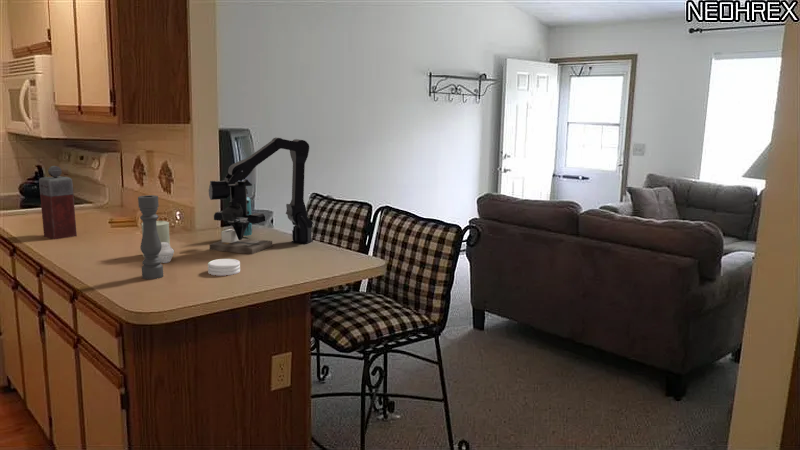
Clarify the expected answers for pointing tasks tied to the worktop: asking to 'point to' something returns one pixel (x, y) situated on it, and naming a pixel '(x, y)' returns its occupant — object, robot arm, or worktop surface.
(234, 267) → the white flat disc
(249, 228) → the beverage bottle
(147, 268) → the candle holder
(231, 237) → the fader knob
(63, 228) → the red lidded canister
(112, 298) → the worktop surface
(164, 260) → the muffin
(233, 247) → the fader console
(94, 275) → the worktop surface
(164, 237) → the can
